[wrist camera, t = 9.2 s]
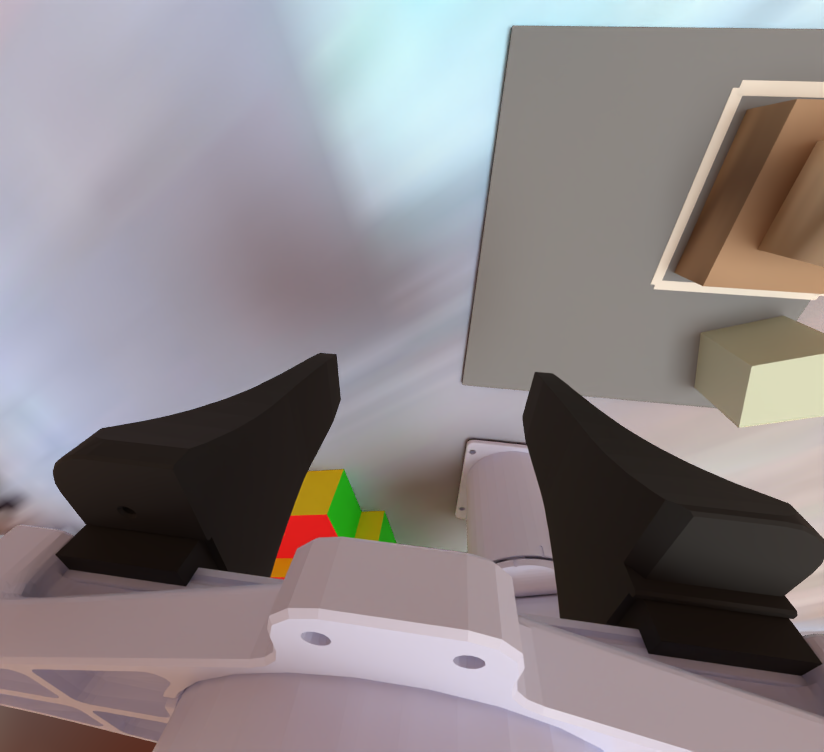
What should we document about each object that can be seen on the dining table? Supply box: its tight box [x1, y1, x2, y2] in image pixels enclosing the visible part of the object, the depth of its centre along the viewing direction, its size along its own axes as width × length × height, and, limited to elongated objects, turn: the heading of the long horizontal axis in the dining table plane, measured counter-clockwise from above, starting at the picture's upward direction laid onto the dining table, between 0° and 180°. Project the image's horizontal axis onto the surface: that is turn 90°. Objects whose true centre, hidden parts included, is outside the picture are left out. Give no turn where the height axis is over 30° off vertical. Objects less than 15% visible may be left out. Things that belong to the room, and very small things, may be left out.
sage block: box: [694, 316, 824, 428], centre depth 18 cm, size 4×4×4 cm
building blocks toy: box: [270, 469, 397, 579], centre depth 30 cm, size 19×25×18 cm
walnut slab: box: [674, 99, 824, 294], centre depth 15 cm, size 7×7×2 cm
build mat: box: [462, 26, 824, 408], centre depth 18 cm, size 18×18×1 cm
